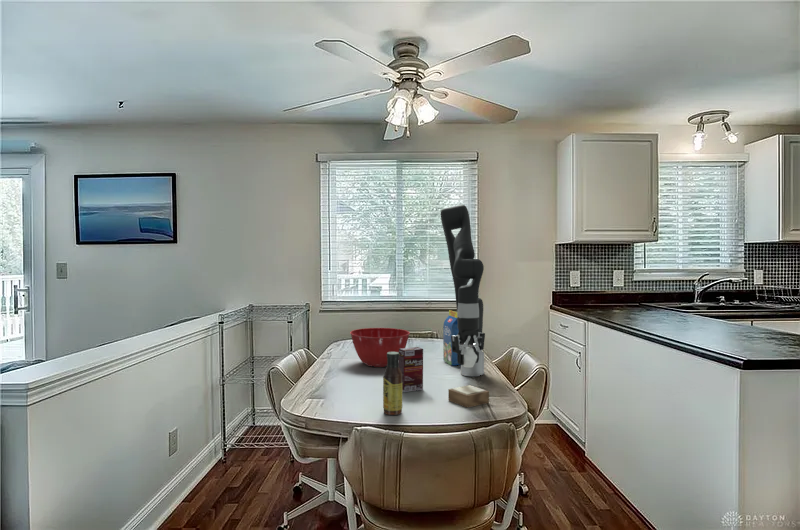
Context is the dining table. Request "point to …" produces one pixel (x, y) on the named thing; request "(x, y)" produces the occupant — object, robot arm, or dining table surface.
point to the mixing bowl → (378, 344)
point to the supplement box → (411, 368)
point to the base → (468, 396)
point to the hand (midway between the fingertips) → (468, 363)
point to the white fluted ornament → (469, 357)
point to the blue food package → (448, 331)
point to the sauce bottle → (392, 385)
